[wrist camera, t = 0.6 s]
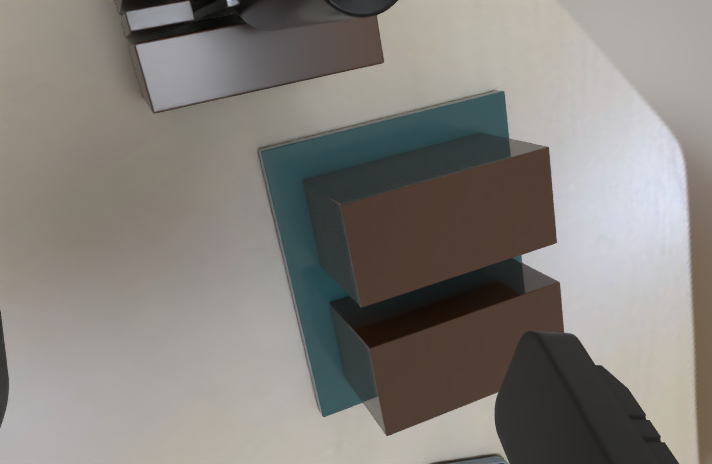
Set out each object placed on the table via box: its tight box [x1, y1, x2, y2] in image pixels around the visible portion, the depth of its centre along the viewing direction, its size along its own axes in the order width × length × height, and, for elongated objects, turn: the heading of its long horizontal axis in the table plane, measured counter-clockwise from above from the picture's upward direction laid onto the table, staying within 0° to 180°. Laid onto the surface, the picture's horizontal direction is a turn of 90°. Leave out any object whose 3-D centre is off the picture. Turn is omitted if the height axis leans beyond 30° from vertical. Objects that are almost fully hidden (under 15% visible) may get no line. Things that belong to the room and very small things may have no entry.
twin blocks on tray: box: [258, 91, 564, 436], centre depth 39 cm, size 16×18×8 cm
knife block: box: [115, 0, 384, 113], centre depth 30 cm, size 10×7×10 cm
